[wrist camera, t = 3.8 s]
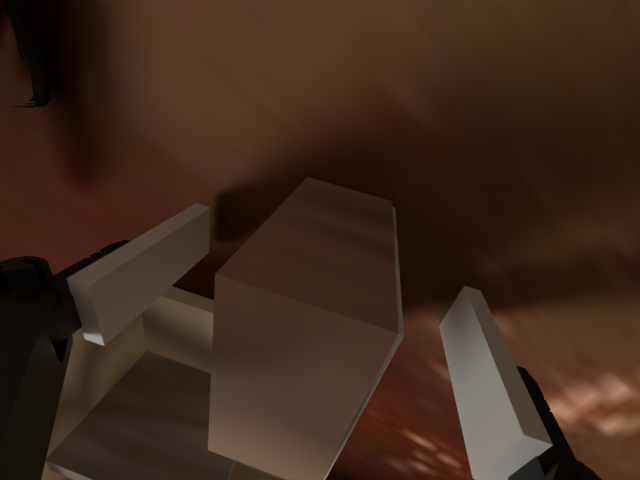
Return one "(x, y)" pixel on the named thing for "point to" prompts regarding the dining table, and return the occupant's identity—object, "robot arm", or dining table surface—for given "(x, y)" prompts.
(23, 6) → the toy figure
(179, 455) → the shelf
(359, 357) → the tall mauve wooden block
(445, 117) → the dining table surface
